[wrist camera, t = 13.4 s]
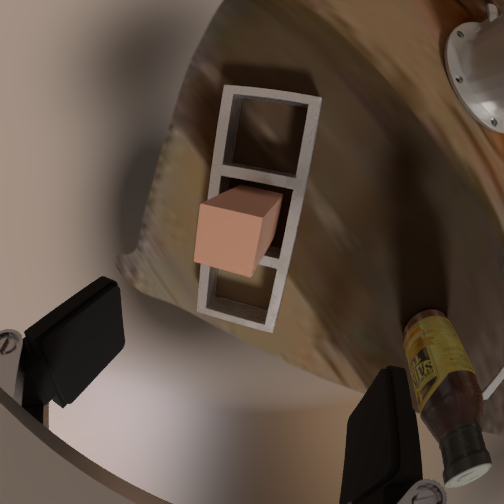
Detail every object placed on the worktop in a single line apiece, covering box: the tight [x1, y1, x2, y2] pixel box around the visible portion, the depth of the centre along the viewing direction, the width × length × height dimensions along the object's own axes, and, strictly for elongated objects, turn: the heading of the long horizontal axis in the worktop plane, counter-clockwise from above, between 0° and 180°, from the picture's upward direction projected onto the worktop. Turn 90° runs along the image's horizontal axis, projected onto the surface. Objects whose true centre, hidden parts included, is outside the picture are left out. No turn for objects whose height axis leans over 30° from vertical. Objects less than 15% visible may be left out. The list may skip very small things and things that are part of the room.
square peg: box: [194, 185, 284, 277], centre depth 25 cm, size 4×4×10 cm
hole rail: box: [197, 85, 322, 333], centre depth 28 cm, size 23×9×3 cm, turn 171°
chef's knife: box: [482, 367, 504, 400], centre depth 29 cm, size 19×1×3 cm
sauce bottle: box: [403, 309, 492, 488], centre depth 20 cm, size 7×6×20 cm
